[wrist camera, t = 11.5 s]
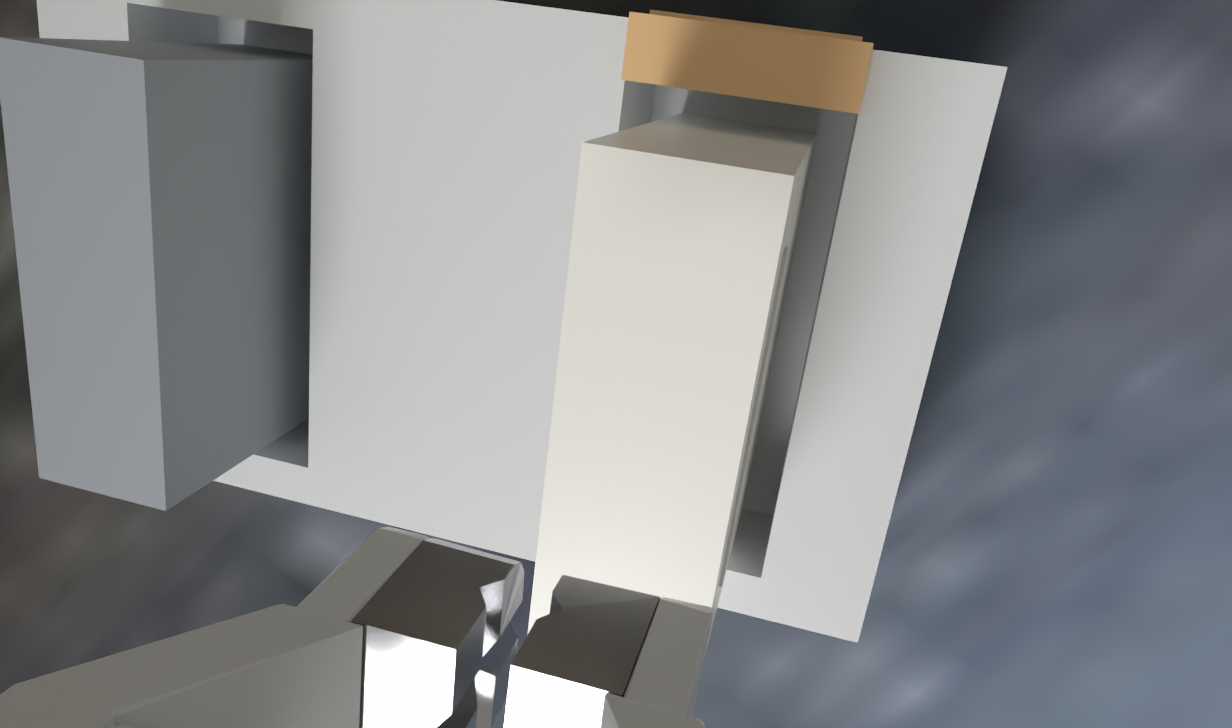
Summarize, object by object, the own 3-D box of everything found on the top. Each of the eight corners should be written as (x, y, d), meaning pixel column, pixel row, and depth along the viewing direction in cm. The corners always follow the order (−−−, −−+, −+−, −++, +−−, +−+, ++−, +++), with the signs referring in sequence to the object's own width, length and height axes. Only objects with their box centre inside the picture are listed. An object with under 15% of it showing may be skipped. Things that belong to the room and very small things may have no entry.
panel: (679, 113, 20) (578, 142, 13) (819, 134, 20) (798, 176, 12) (629, 459, 23) (523, 645, 16) (749, 487, 23) (699, 693, 15)
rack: (857, 551, 23) (858, 775, 16) (180, 394, 27) (-70, 516, 20) (980, 56, 19) (1058, 52, 12) (162, -50, 23) (-164, -103, 16)
